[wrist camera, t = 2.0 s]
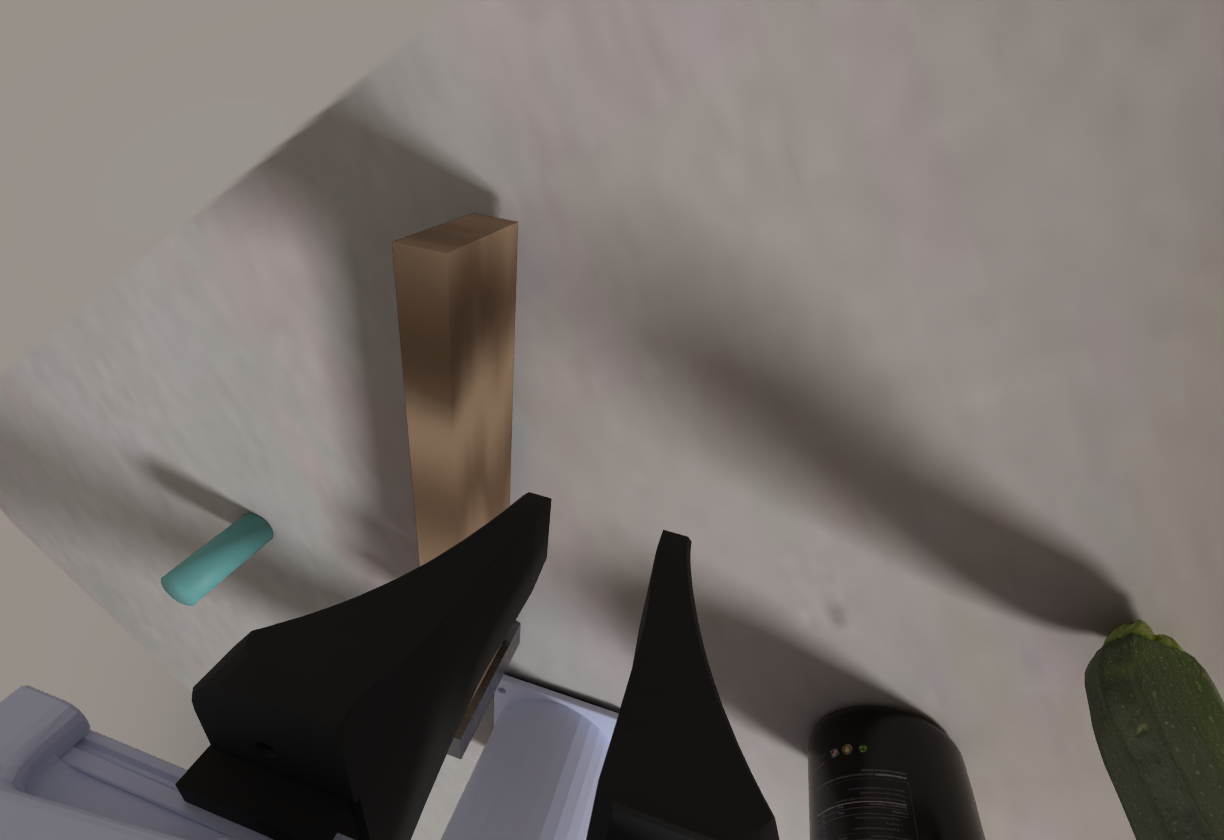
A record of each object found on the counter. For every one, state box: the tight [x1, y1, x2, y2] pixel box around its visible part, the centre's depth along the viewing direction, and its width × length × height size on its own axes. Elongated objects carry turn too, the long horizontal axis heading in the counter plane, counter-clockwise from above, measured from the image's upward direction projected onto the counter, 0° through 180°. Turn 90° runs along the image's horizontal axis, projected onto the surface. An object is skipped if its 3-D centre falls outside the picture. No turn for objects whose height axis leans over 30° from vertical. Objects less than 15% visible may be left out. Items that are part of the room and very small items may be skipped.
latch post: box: [161, 513, 273, 606], centre depth 30 cm, size 2×2×5 cm
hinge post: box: [447, 622, 520, 759], centre depth 28 cm, size 2×2×6 cm
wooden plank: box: [392, 213, 518, 703], centre depth 22 cm, size 21×2×6 cm, turn 173°
